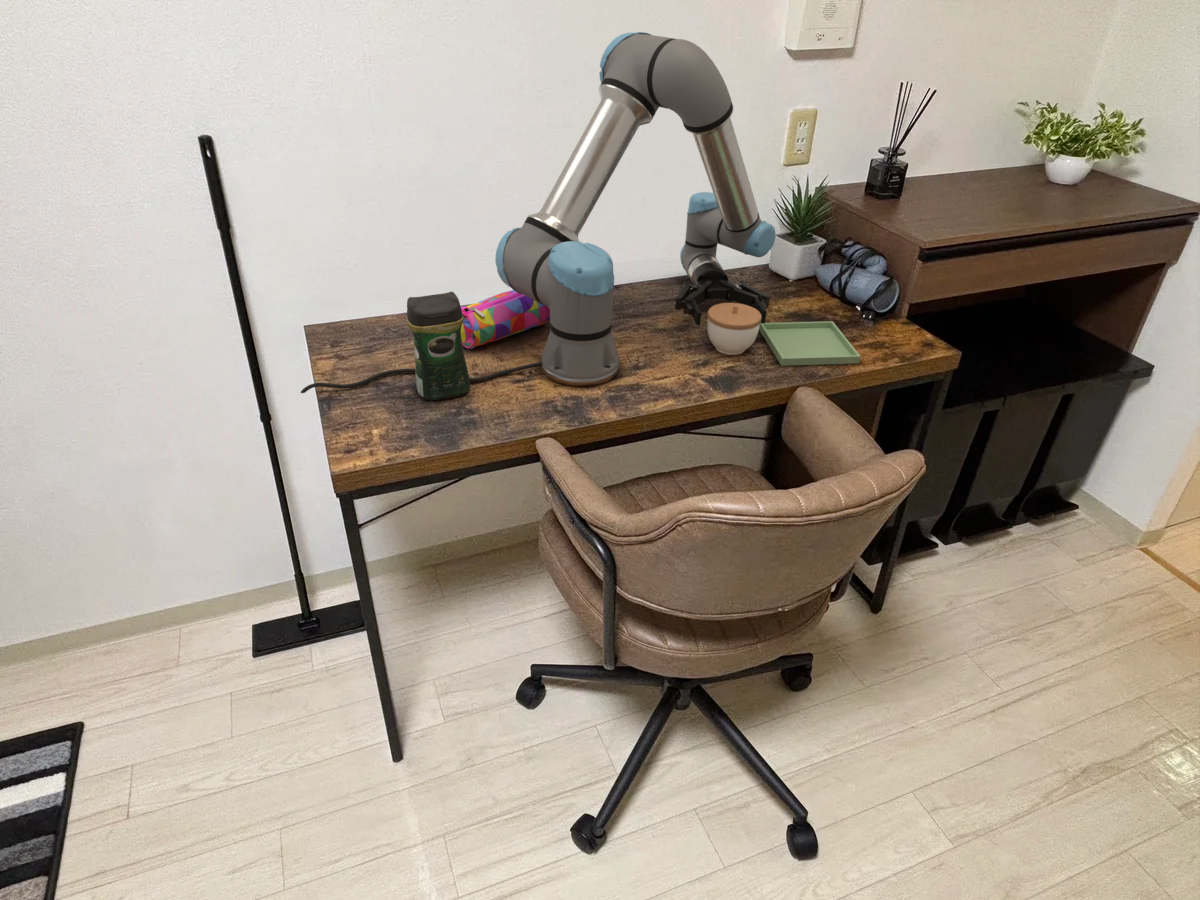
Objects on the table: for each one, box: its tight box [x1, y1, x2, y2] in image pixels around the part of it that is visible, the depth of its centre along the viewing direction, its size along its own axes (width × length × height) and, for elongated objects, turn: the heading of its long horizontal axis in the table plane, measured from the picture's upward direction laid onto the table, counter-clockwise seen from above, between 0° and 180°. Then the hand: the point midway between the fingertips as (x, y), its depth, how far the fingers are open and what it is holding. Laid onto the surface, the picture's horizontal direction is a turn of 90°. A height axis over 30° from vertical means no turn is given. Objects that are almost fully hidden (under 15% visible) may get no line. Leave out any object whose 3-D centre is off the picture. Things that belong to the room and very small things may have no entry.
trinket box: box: [706, 302, 761, 356], centre depth 156 cm, size 11×11×9 cm
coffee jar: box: [406, 291, 471, 401], centre depth 137 cm, size 10×8×19 cm
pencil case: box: [460, 289, 550, 350], centre depth 159 cm, size 22×9×9 cm, turn 132°
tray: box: [759, 321, 862, 367], centre depth 160 cm, size 16×16×2 cm
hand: (731, 318), depth 157 cm, fingers open, 13 cm apart
